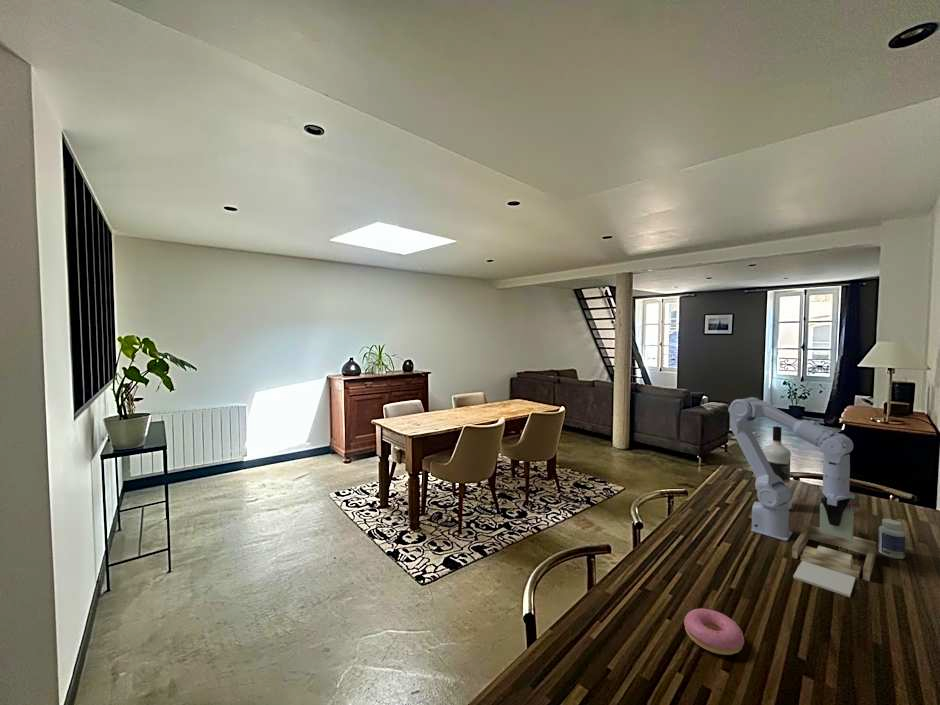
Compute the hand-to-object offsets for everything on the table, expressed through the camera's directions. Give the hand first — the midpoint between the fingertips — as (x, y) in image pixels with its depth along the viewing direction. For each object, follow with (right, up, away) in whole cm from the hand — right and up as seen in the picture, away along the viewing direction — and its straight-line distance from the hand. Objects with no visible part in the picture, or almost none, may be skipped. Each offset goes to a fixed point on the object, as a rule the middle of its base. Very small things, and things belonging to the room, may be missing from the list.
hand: (835, 523), depth 119 cm
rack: (-1, -9, -1) cm, 9 cm away
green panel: (0, -3, 0) cm, 3 cm away
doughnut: (-55, -11, -33) cm, 65 cm away
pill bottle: (+16, -9, 0) cm, 19 cm away
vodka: (+9, -8, +35) cm, 37 cm away
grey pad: (-13, -10, -12) cm, 20 cm away
